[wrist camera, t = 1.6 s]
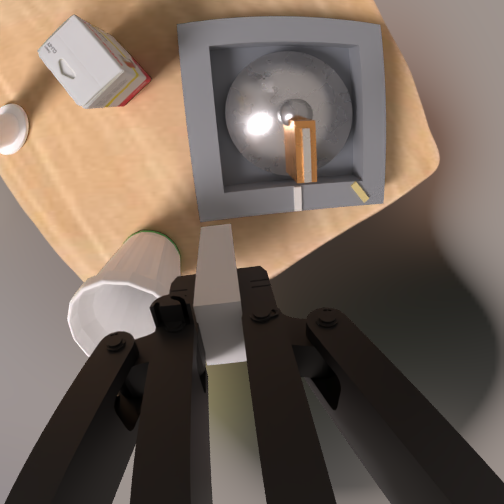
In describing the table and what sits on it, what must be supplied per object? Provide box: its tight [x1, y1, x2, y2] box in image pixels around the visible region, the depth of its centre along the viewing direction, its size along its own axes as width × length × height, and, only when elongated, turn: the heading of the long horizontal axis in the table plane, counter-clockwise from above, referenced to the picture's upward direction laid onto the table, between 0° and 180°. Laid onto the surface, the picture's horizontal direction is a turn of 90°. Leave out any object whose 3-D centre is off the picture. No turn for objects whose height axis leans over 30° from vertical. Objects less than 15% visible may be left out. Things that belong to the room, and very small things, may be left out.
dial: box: [225, 51, 352, 183], centre depth 29 cm, size 14×14×7 cm
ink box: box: [38, 15, 151, 109], centre depth 24 cm, size 9×5×12 cm, turn 37°
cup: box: [67, 230, 181, 357], centre depth 34 cm, size 12×12×15 cm
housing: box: [177, 16, 386, 222], centre depth 32 cm, size 22×22×5 cm
